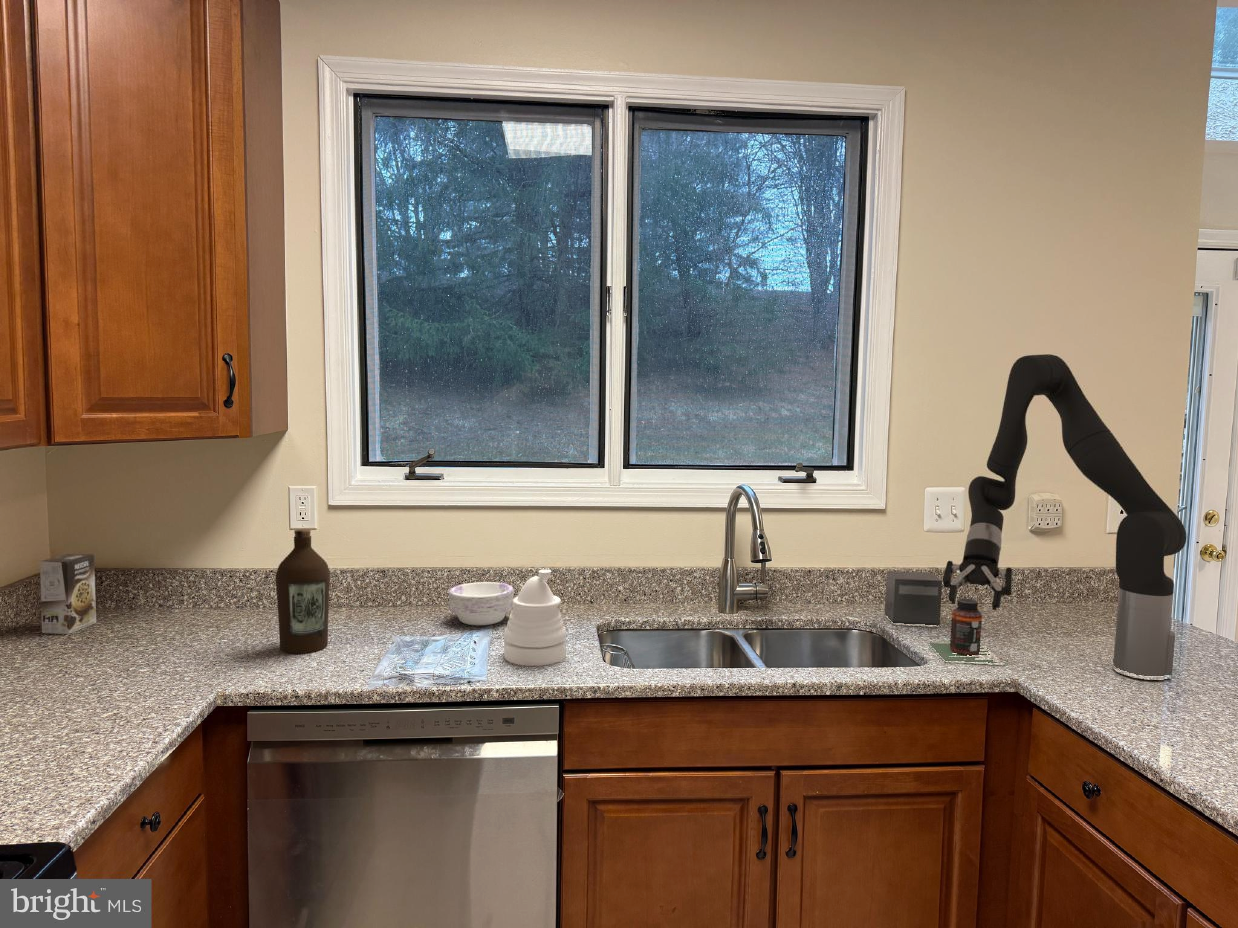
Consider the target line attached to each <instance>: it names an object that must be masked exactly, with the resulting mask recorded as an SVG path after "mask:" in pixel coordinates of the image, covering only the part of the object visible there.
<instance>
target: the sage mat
mask: <svg viewBox="0 0 1238 928" xmlns="http://www.w3.org/2000/svg"><path fill="white" fill-rule="evenodd" d="M929 644H930V645H931V646H932V647H933V648H934V649H935V650H936V652H937V653H939V655H940V656H941V657H942V658H943V659H944V660H945V661H965V662H988V663H990V662H991V663H997V662H993V660H975V658H979V657H949V656H955V655H956V656H967V655H962V654H952V653H955V652H953V651H952V650H951V649H950V643H944V642H941V643H940V642H928V645H929ZM980 649H984V648H980ZM987 649H989V648H988V647H987ZM980 652H988V651H980ZM991 652H993V651H992V650H991ZM977 655H987V654H977ZM988 655H990V654H988ZM969 656H970V655H969ZM964 659H966V660H964Z"/></svg>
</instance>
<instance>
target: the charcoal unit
mask: <svg viewBox="0 0 1238 928" xmlns="http://www.w3.org/2000/svg"><path fill="white" fill-rule="evenodd" d="M885 580H886V581H885V596H884V597H885V600H884V601H885V602H884V616H885V615H886V616H888V618H889V619H890V620H891V621H892V622H893V623H904V624H925V625H937V626H938V625H939V626H940V627H941V612H942V611H941V610H942V595H943V594H942V592H943V579H941V578H939V577H938V576H937V575H936V574H935V573H933V572H928V571H927V572H922V571H900V570H898V571H897V570H886V579H885Z"/></svg>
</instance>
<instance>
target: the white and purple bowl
mask: <svg viewBox="0 0 1238 928" xmlns="http://www.w3.org/2000/svg"><path fill="white" fill-rule="evenodd" d="M448 591H449V592H448V600H449V602H448V604H449V605H448V606H449V611H450V612H451V613H453V614H454V615H455V614H456V616H457V618H458V619H459V621H460V622H462V623H463V624H465V625H470V626H489V625H490V626H491V625H495V624H498V623H500V622H502V621H503V620H504V618H505V616H506V613H507V612H510V611H511V610H513V607H514V604H513V599H514V598H515V597H514V593H515V591H514V588H513V586H512V585H510V584H507V583H503V582H494V581H483V582H482V581H480V582H479V581H478V582H470V583H469V582H468V583H463V584H459V585H455V586H454V587H453V586H452V587H451V588H450V589H449V590H448Z"/></svg>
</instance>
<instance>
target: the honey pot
mask: <svg viewBox="0 0 1238 928" xmlns="http://www.w3.org/2000/svg"><path fill="white" fill-rule="evenodd" d="M551 576H552V570H550V569H540V570H538V576H537V575H536V576H532V577H530V578H529V579H528V580H527V581H526V582H525V583H524V584H523V586H522V588H521V589H520V591H519V593H518V595H517V596H516V597H513V598H514V599H513V604H514V605H513V608H512V609H511V610H512V611H511V613H510V614H509V616H508V617H509V618H508V621H507V625H506V627H505V629H504V633H503V634H504V641H503V642H504V643H503V645H504V646H503V649H504V651H503V652H504V653H503V658H504V659H505V660H506V661H507V662H509V663H512V664H514V665H519V666H527V667H532V666H533V667H538V666H539V667H541V666H548V665H552V664H553V665H554V664H557V663H559V662H561V661H564V660H565V659H566V657H567V630H566V627H565V626H564V621H563V619H562V613H561V612H560V610H559V607H558V606H560V605H561V603H562V600H561V598H560V597H558V596H557V595H554V594H553V592H552V590H551V588H550V586H549V584H547V582H546V581H548V580H549V579H550V578H551Z"/></svg>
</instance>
